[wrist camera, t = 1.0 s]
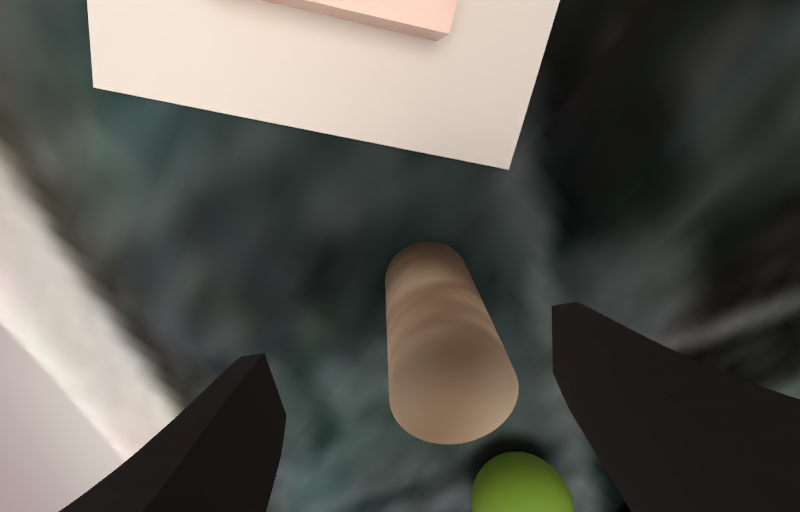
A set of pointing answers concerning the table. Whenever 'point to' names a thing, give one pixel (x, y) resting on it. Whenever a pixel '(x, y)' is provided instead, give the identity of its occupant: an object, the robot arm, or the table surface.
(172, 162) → the table surface
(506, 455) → the snail figurine
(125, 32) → the socket board
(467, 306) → the maple peg
